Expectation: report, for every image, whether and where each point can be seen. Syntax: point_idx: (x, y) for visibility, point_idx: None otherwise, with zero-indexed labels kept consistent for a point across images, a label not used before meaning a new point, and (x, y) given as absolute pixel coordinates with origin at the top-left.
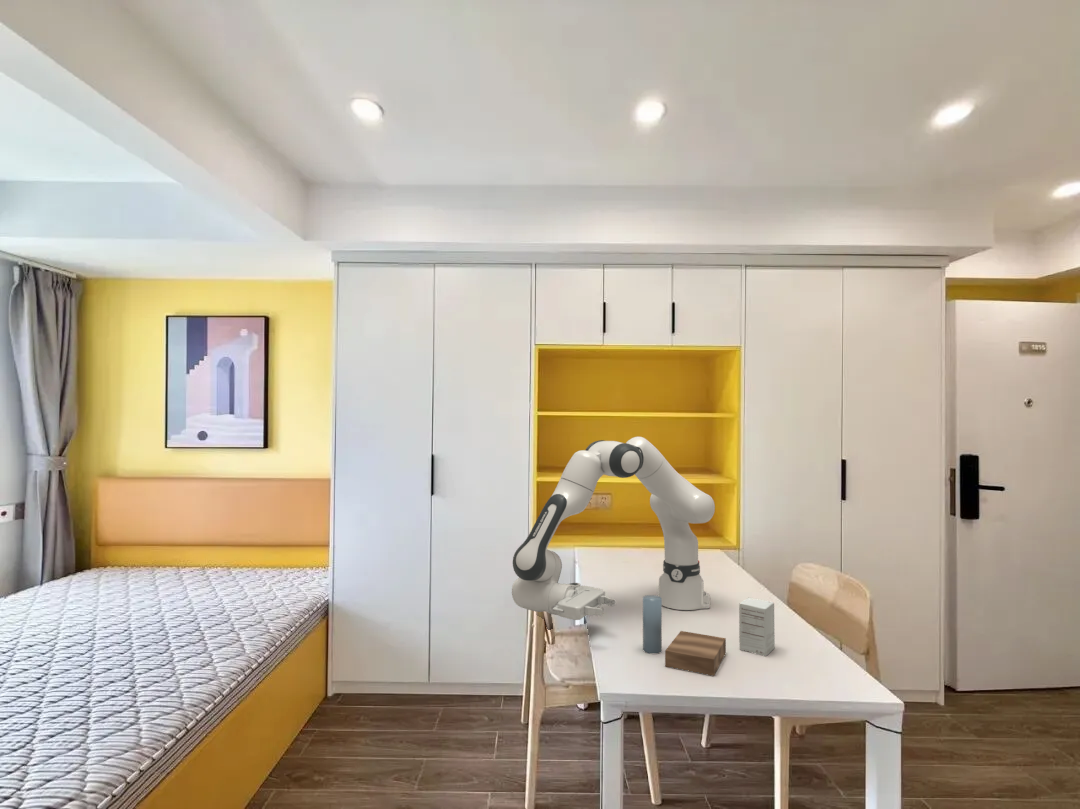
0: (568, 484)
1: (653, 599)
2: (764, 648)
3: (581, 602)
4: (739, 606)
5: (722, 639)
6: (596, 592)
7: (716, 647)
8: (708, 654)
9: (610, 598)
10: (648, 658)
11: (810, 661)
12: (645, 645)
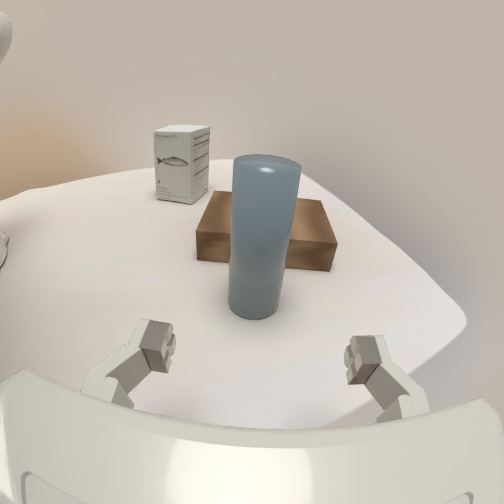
0: None
1: (283, 162)
2: (207, 181)
3: (427, 444)
4: (191, 136)
5: (222, 192)
6: (68, 424)
7: None
8: (306, 203)
9: (131, 340)
10: (309, 300)
11: (209, 172)
12: (277, 298)
